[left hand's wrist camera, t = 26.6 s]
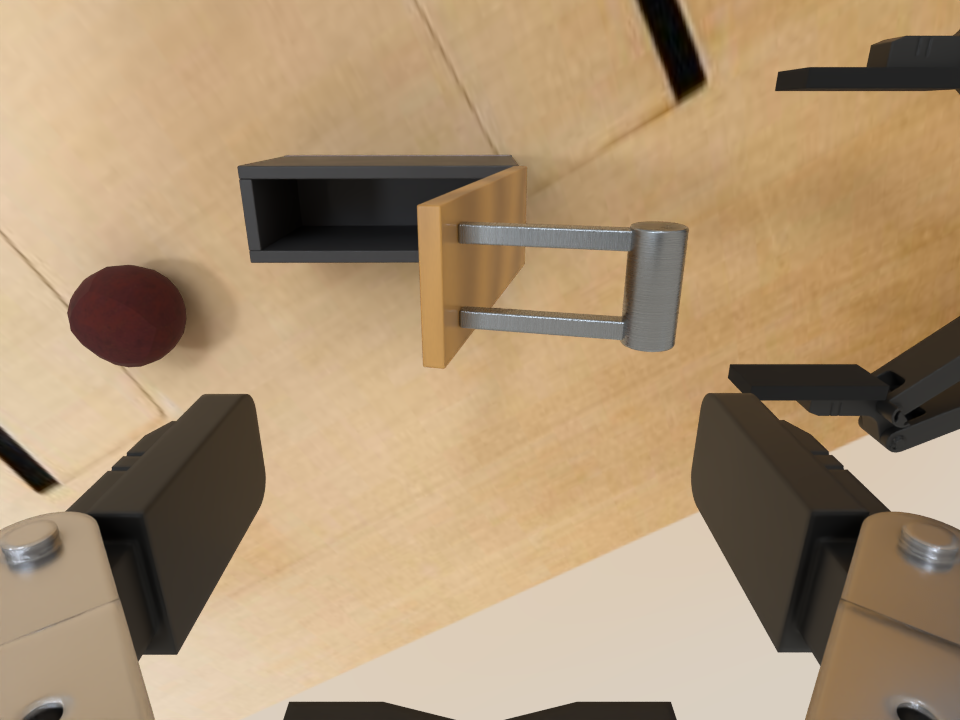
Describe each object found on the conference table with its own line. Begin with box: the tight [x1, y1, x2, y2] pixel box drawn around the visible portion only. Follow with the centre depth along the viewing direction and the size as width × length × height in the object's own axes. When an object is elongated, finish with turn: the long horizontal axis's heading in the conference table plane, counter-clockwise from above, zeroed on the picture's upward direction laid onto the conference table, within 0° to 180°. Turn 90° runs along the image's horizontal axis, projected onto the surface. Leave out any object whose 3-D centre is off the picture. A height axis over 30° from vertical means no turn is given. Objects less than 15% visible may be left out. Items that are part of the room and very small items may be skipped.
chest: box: [238, 155, 519, 263], centre depth 41 cm, size 16×6×10 cm, turn 90°
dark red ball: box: [67, 265, 186, 367], centre depth 45 cm, size 7×8×7 cm
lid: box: [417, 166, 689, 369], centre depth 28 cm, size 17×6×9 cm
